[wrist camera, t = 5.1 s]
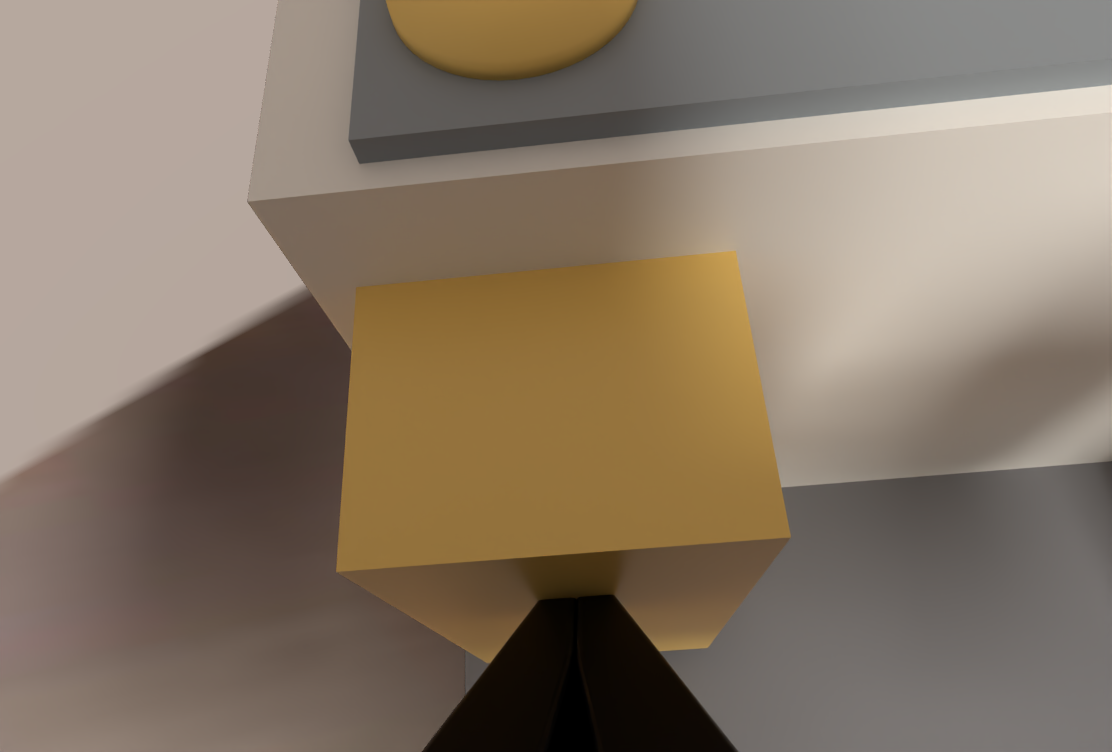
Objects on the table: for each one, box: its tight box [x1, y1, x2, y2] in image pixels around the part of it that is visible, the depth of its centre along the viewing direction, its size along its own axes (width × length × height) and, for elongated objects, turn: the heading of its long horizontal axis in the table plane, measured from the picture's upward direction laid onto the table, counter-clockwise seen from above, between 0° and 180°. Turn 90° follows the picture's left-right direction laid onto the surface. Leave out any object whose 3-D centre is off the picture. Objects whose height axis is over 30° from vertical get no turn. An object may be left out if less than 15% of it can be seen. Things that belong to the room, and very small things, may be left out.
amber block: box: [336, 251, 791, 663], centre depth 11 cm, size 3×4×8 cm
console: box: [247, 0, 1112, 752], centre depth 10 cm, size 11×17×12 cm, turn 93°
